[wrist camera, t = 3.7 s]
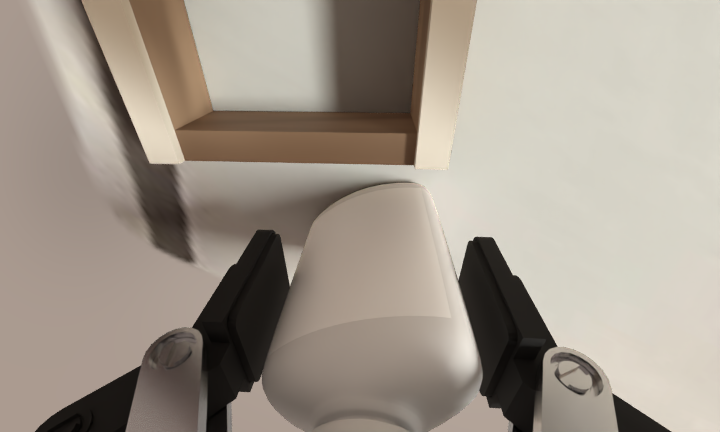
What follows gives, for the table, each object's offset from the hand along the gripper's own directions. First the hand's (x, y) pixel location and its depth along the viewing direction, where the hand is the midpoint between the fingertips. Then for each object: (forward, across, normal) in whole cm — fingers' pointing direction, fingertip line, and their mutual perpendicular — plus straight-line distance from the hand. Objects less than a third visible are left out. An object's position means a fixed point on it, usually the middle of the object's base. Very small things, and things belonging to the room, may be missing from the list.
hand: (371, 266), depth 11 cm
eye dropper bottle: (+3, 0, 0) cm, 3 cm away
